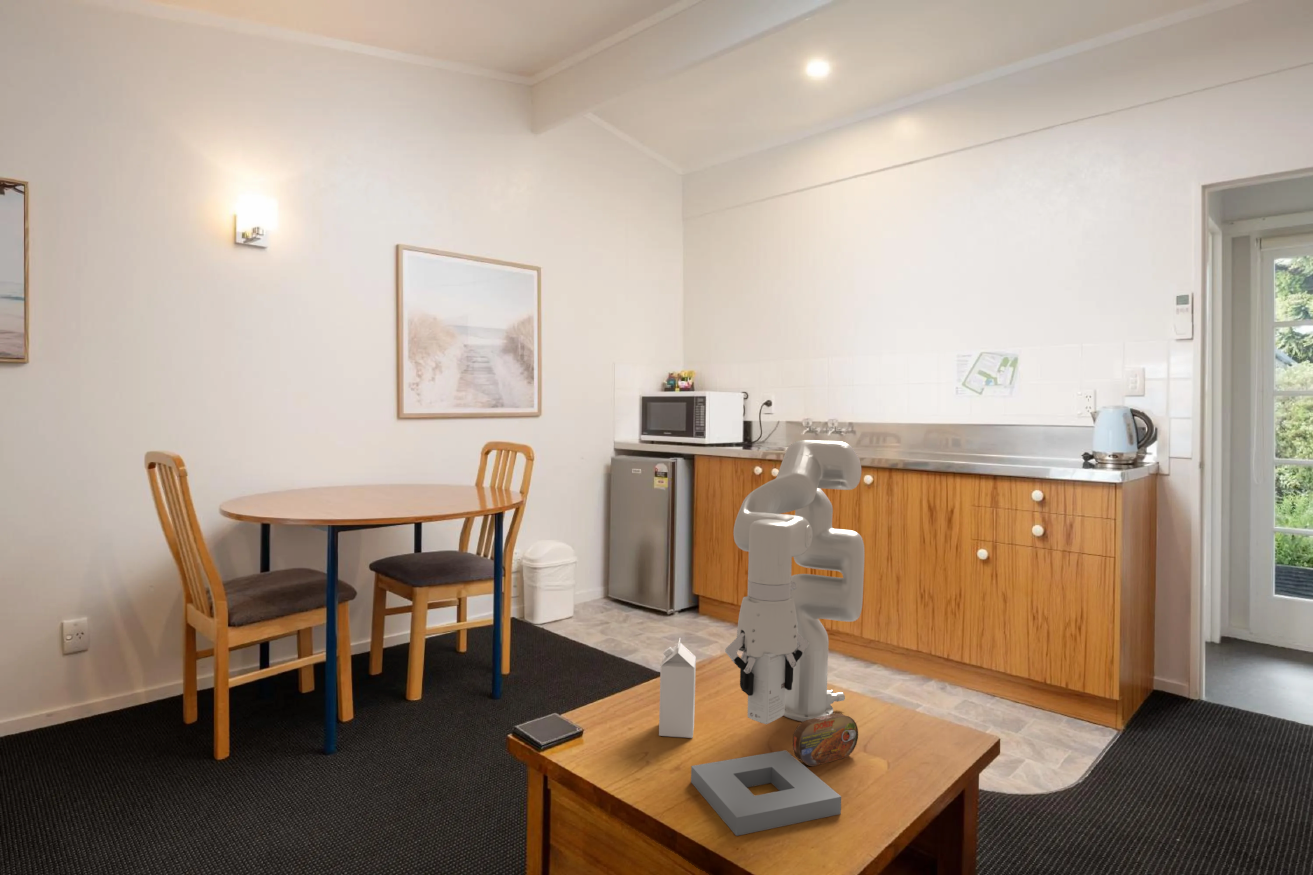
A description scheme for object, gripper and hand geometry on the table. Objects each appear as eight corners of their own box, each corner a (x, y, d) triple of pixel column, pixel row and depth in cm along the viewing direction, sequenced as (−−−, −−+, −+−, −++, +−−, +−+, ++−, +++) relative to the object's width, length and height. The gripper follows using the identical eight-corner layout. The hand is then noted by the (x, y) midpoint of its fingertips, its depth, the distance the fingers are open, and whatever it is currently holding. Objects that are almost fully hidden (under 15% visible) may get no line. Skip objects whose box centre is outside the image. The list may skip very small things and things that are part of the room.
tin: (799, 770, 139) (800, 726, 139) (789, 763, 142) (790, 720, 141) (858, 754, 146) (860, 713, 146) (848, 748, 149) (849, 707, 148)
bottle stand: (785, 765, 140) (785, 750, 140) (840, 813, 124) (841, 796, 124) (690, 781, 133) (691, 765, 133) (736, 835, 116) (736, 817, 116)
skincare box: (767, 725, 124) (769, 655, 124) (745, 717, 127) (747, 649, 127) (785, 714, 129) (787, 647, 129) (764, 707, 132) (766, 641, 132)
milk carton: (694, 724, 158) (696, 638, 158) (692, 738, 151) (694, 648, 150) (661, 722, 159) (663, 636, 158) (658, 736, 152) (660, 646, 151)
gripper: (800, 582, 134) (797, 676, 135) (715, 589, 128) (712, 688, 128) (823, 592, 127) (820, 691, 128) (734, 599, 121) (732, 704, 121)
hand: (766, 689), depth 128 cm, fingers closed on skincare box, 7 cm apart
